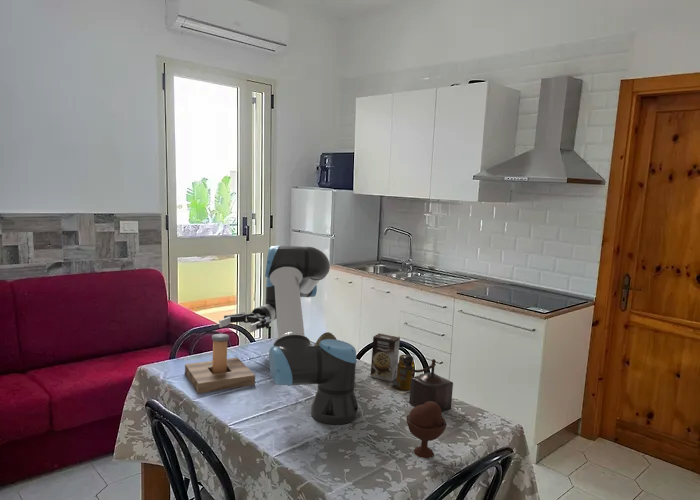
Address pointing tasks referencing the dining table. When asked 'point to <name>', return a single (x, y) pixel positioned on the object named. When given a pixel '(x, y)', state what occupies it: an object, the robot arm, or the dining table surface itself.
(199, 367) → the walnut block
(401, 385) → the condiment
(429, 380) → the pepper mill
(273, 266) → the robot arm
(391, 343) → the cookie box
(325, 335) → the decorative egg
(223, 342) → the peg
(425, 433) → the ice cream bowl
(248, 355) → the dining table surface
